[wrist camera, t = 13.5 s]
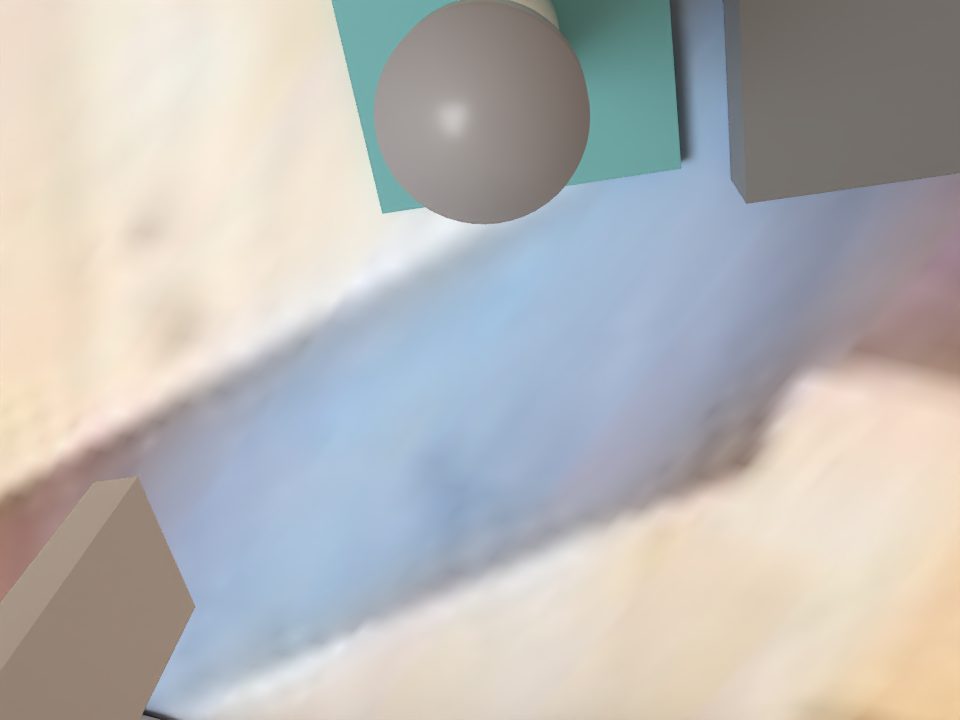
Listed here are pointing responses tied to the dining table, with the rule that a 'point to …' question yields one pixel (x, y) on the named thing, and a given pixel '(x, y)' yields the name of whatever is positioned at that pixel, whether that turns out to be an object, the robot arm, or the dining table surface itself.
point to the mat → (605, 64)
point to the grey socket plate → (840, 93)
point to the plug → (483, 110)
